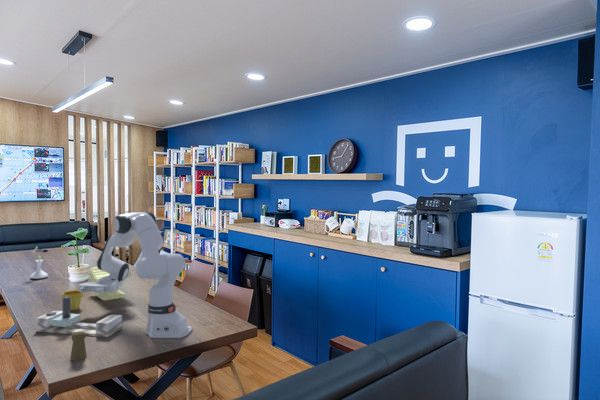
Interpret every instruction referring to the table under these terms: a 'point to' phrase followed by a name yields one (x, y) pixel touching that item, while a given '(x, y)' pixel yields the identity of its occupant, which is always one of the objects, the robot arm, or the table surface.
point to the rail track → (72, 330)
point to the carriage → (66, 315)
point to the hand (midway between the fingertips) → (88, 291)
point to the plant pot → (74, 298)
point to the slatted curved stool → (98, 274)
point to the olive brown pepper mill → (78, 346)
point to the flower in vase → (38, 268)
